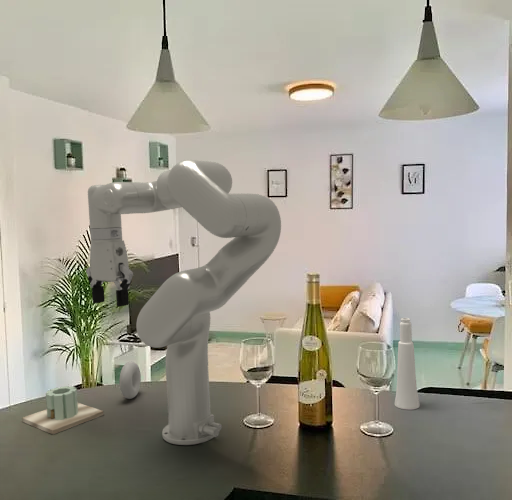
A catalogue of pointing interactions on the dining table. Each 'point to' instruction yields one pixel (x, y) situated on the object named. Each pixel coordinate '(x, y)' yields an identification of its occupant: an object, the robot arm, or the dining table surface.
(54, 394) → the collar
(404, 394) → the cosmetic bottle
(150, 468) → the dining table surface
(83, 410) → the post base
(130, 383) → the donut
